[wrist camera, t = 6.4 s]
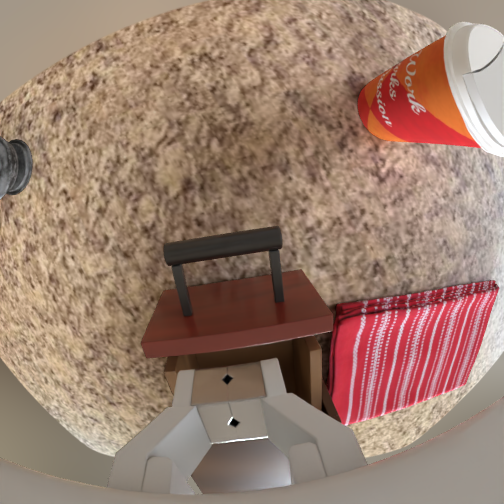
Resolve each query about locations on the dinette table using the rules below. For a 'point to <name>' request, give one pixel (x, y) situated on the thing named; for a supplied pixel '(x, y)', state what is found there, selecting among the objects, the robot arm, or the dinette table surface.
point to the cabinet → (249, 462)
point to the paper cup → (443, 93)
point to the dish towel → (405, 348)
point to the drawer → (240, 315)
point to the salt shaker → (14, 166)
